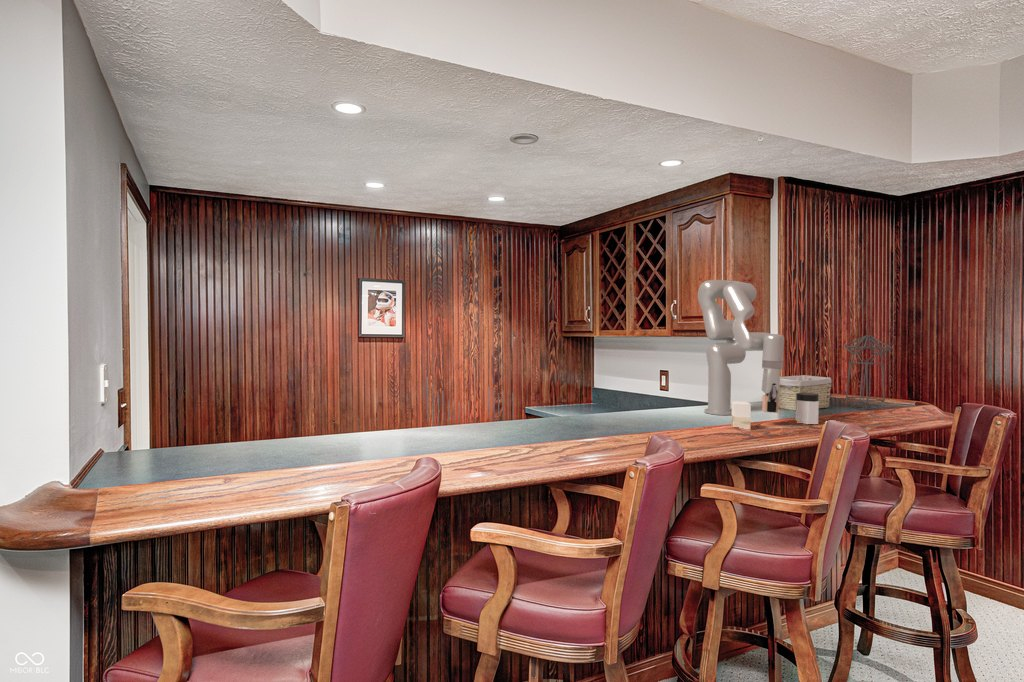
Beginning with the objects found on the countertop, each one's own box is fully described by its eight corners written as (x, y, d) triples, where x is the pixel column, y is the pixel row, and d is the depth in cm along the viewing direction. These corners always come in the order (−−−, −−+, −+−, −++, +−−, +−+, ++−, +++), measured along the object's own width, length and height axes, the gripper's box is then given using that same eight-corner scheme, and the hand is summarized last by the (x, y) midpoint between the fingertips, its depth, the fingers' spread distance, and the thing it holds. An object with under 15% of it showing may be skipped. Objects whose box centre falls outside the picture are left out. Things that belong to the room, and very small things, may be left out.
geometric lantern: (838, 406, 281) (841, 334, 280) (866, 406, 284) (869, 335, 283) (863, 411, 265) (866, 335, 265) (893, 411, 268) (896, 335, 267)
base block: (731, 426, 227) (731, 414, 227) (747, 427, 225) (748, 414, 225) (733, 429, 221) (733, 416, 221) (750, 430, 220) (750, 417, 219)
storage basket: (799, 412, 264) (800, 379, 263) (769, 407, 278) (769, 376, 278) (832, 408, 275) (833, 377, 274) (802, 404, 289) (802, 374, 288)
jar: (822, 423, 234) (823, 394, 234) (813, 425, 229) (814, 395, 229) (800, 420, 241) (800, 391, 241) (790, 422, 236) (791, 393, 236)
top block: (762, 409, 234) (762, 394, 233) (775, 410, 233) (776, 395, 232) (764, 411, 229) (765, 397, 228) (778, 412, 228) (778, 397, 227)
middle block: (731, 414, 227) (731, 401, 227) (747, 414, 225) (748, 402, 225) (733, 416, 221) (733, 403, 221) (750, 417, 220) (750, 404, 219)
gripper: (758, 362, 238) (756, 405, 240) (766, 367, 222) (763, 413, 223) (777, 363, 237) (775, 407, 238) (787, 368, 220) (784, 415, 222)
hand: (769, 409), depth 231 cm, fingers closed on top block, 4 cm apart
